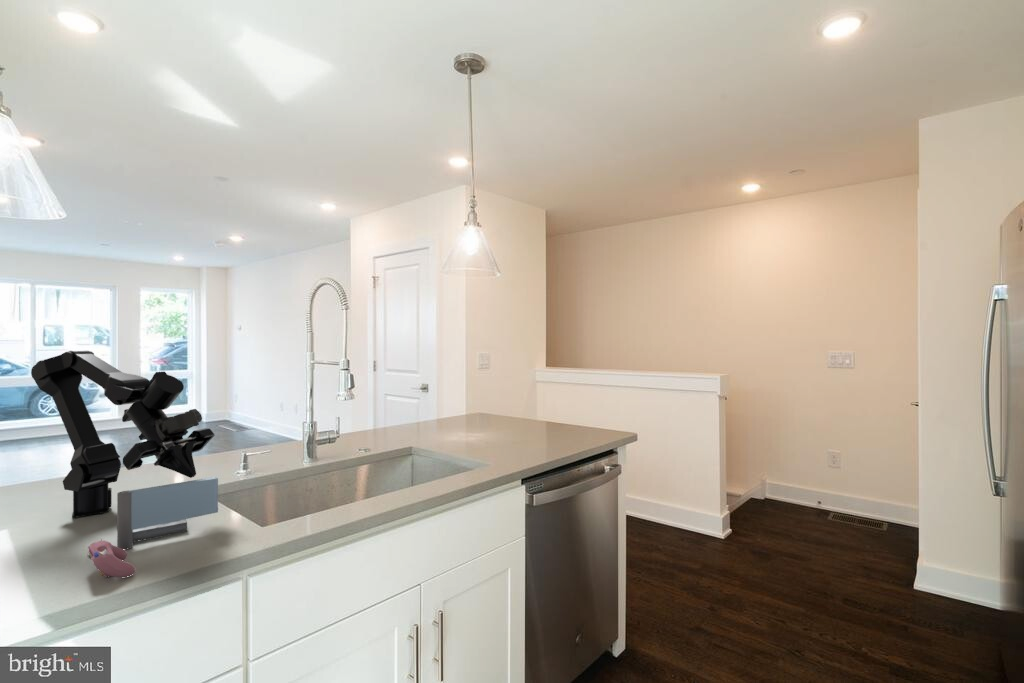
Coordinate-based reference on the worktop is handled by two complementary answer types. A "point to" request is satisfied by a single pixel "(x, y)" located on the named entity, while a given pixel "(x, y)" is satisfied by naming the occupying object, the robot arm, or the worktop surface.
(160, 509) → the light blue flat slab
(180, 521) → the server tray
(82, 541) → the worktop surface
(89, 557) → the video game controller
